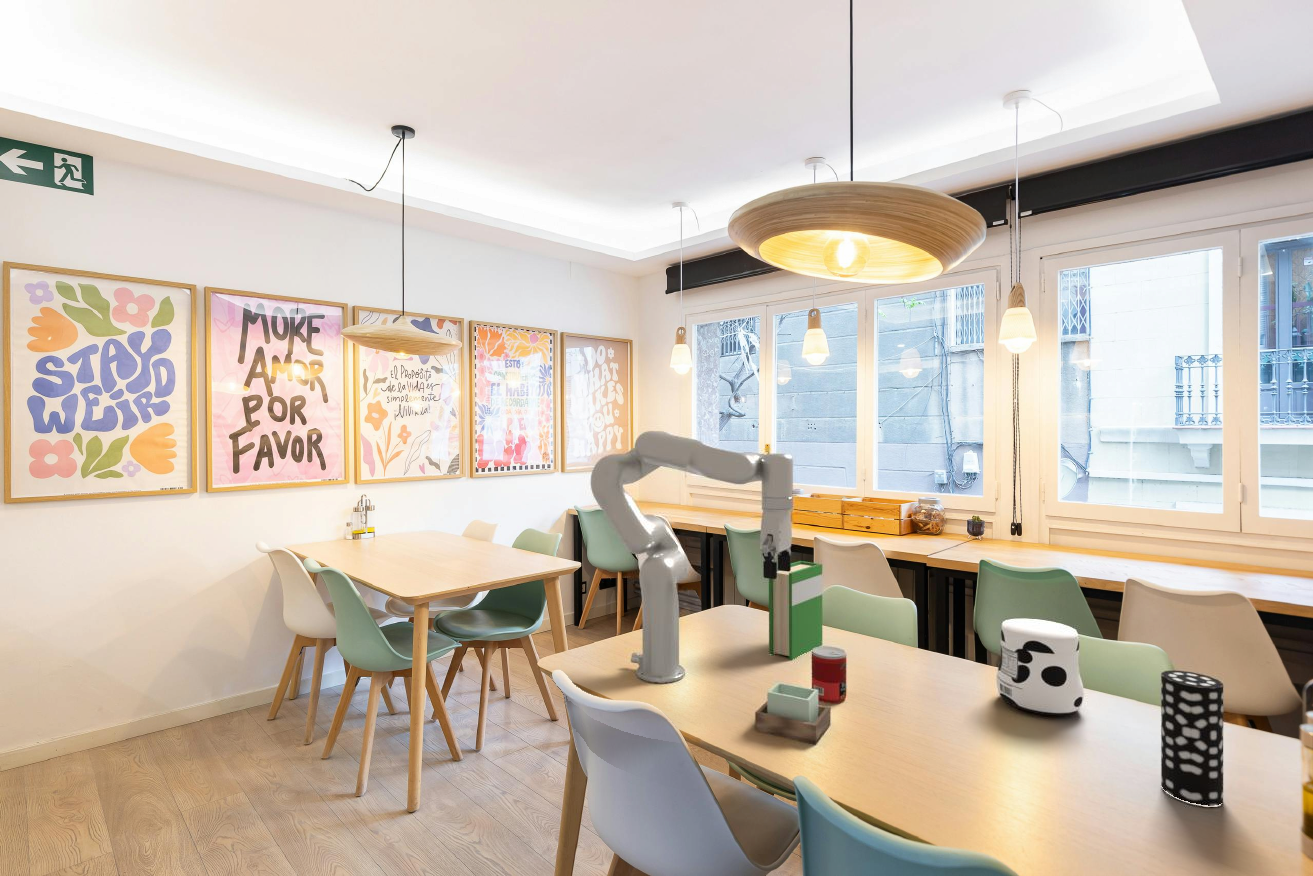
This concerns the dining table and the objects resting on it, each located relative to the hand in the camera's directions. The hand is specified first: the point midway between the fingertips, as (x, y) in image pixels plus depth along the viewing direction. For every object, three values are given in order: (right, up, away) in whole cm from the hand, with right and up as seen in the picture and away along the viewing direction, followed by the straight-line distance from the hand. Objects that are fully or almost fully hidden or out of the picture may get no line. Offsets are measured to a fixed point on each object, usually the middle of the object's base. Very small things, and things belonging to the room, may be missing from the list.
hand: (777, 574), depth 161 cm
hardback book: (+11, -28, +31) cm, 43 cm away
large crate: (0, -28, -20) cm, 35 cm away
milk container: (+58, -28, -10) cm, 65 cm away
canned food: (+11, -29, -4) cm, 31 cm away
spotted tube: (+63, -29, -47) cm, 83 cm away
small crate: (0, -28, -20) cm, 34 cm away
